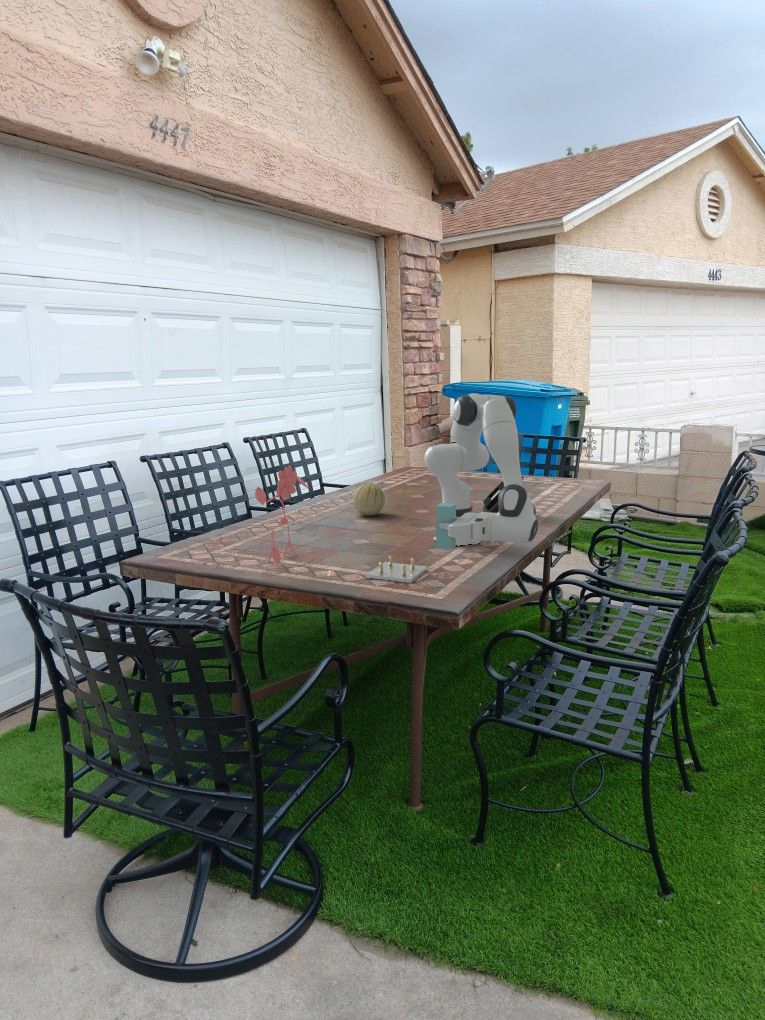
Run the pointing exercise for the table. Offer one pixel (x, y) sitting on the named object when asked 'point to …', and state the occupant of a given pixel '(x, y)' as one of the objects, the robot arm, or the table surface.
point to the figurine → (286, 489)
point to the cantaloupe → (368, 499)
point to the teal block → (448, 515)
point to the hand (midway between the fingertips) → (443, 522)
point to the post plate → (397, 571)
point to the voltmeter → (493, 499)
